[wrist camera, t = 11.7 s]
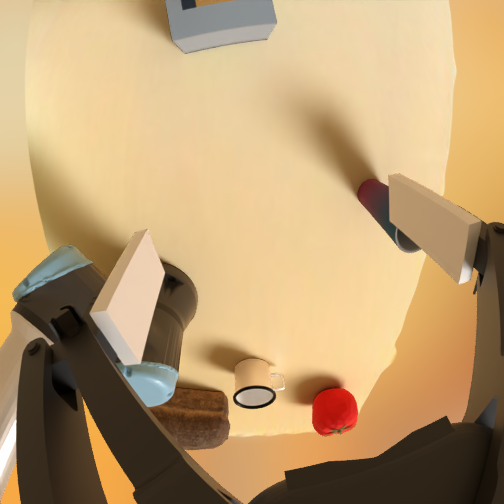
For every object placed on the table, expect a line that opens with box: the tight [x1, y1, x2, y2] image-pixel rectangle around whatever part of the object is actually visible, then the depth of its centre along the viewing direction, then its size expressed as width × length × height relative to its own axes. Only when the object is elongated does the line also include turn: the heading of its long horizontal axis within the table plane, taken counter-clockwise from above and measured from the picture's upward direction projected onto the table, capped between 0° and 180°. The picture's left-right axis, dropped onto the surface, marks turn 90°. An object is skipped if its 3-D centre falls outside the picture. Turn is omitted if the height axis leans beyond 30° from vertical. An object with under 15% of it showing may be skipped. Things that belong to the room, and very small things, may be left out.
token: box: [195, 0, 234, 7], centre depth 28 cm, size 6×2×6 cm, turn 100°
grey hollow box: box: [165, 0, 277, 54], centre depth 27 cm, size 12×12×10 cm
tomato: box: [312, 388, 358, 436], centre depth 70 cm, size 16×14×14 cm
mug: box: [233, 359, 285, 409], centre depth 63 cm, size 12×10×9 cm
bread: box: [148, 388, 230, 450], centre depth 65 cm, size 15×32×16 cm, turn 80°
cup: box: [358, 179, 421, 253], centre depth 40 cm, size 7×7×15 cm
